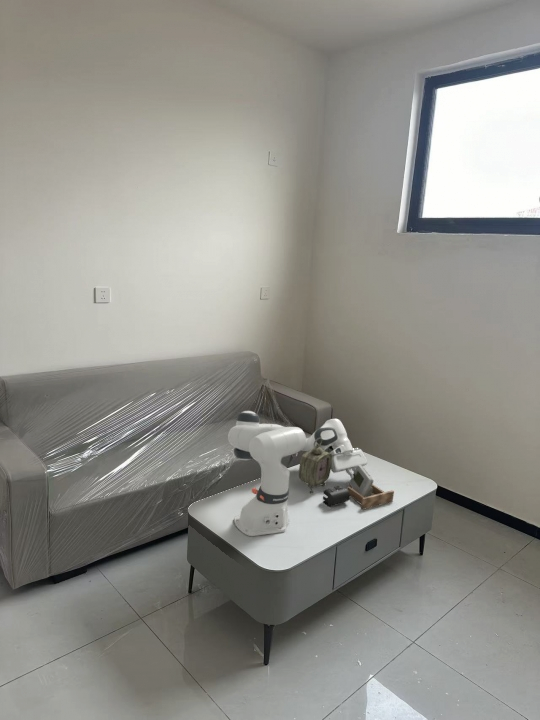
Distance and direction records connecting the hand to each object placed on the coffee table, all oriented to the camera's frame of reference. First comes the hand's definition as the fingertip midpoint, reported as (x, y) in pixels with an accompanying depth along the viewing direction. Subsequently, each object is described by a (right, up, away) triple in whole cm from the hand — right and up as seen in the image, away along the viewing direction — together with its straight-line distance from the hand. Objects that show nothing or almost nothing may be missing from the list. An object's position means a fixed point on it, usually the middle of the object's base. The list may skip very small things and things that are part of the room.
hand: (354, 477), depth 237 cm
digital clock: (+2, -6, -3) cm, 7 cm away
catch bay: (+5, -7, -8) cm, 12 cm away
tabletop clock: (-20, -4, -3) cm, 21 cm away
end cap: (-11, -8, -15) cm, 20 cm away
